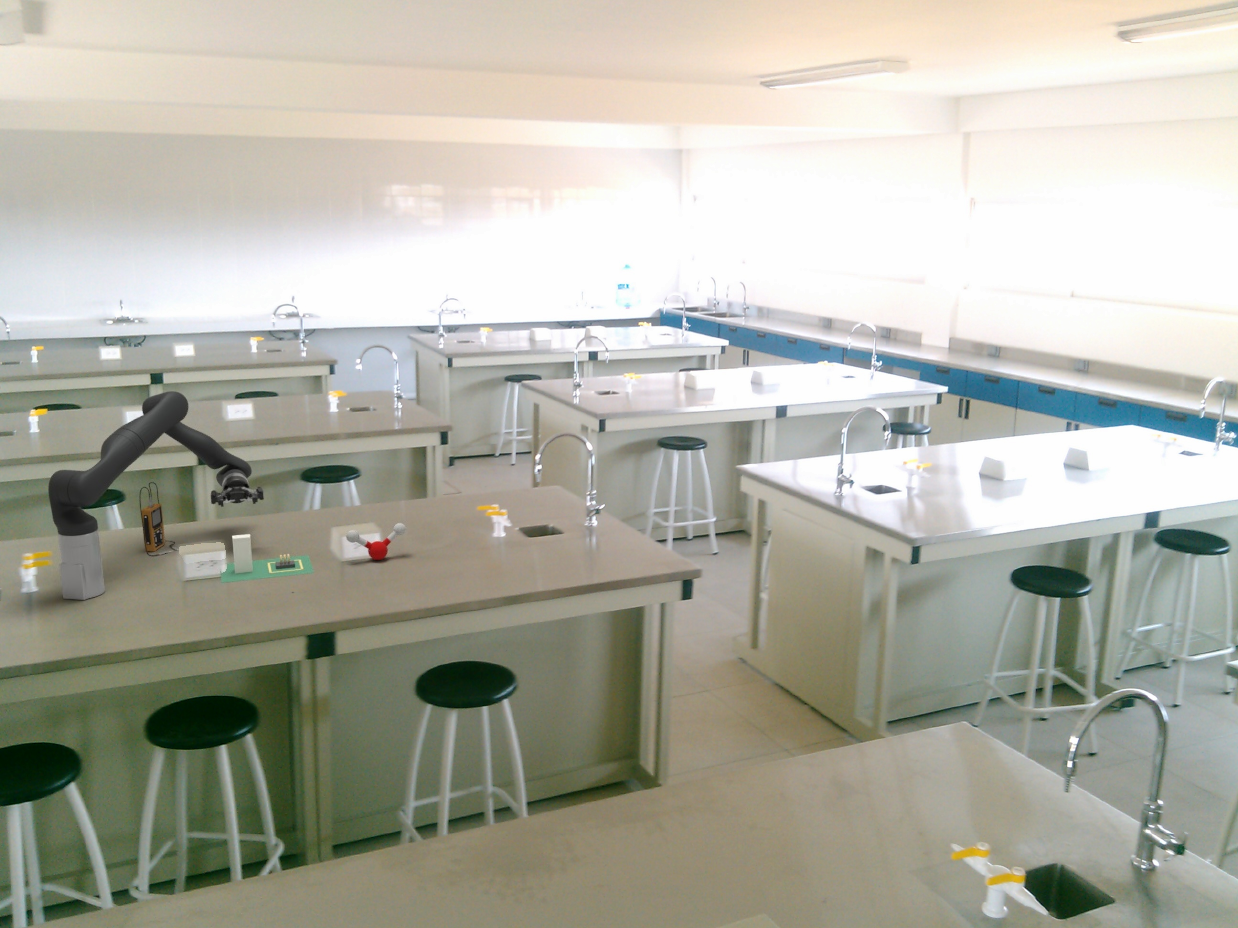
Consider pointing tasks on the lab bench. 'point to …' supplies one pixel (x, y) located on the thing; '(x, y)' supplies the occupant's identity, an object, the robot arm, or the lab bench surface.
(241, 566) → the plug
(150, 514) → the multimeter
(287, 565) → the pin header
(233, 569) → the circuit board
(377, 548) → the molecular model
